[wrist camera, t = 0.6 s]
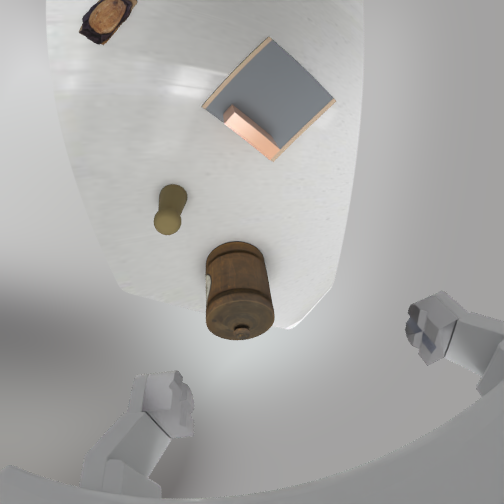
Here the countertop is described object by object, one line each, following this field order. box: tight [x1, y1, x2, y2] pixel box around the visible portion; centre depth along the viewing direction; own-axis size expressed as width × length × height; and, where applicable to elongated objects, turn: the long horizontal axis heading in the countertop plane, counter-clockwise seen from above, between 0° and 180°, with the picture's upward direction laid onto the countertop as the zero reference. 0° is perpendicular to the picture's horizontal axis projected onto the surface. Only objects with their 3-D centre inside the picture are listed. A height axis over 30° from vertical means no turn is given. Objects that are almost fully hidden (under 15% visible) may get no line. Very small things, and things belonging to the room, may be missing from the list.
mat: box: [202, 37, 336, 162], centre depth 45 cm, size 18×18×1 cm
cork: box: [154, 184, 187, 235], centre depth 52 cm, size 6×6×11 cm
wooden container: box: [206, 242, 274, 340], centre depth 63 cm, size 15×15×22 cm
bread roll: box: [79, 0, 137, 45], centre depth 28 cm, size 11×9×4 cm
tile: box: [223, 105, 280, 160], centre depth 45 cm, size 2×10×8 cm, turn 48°
